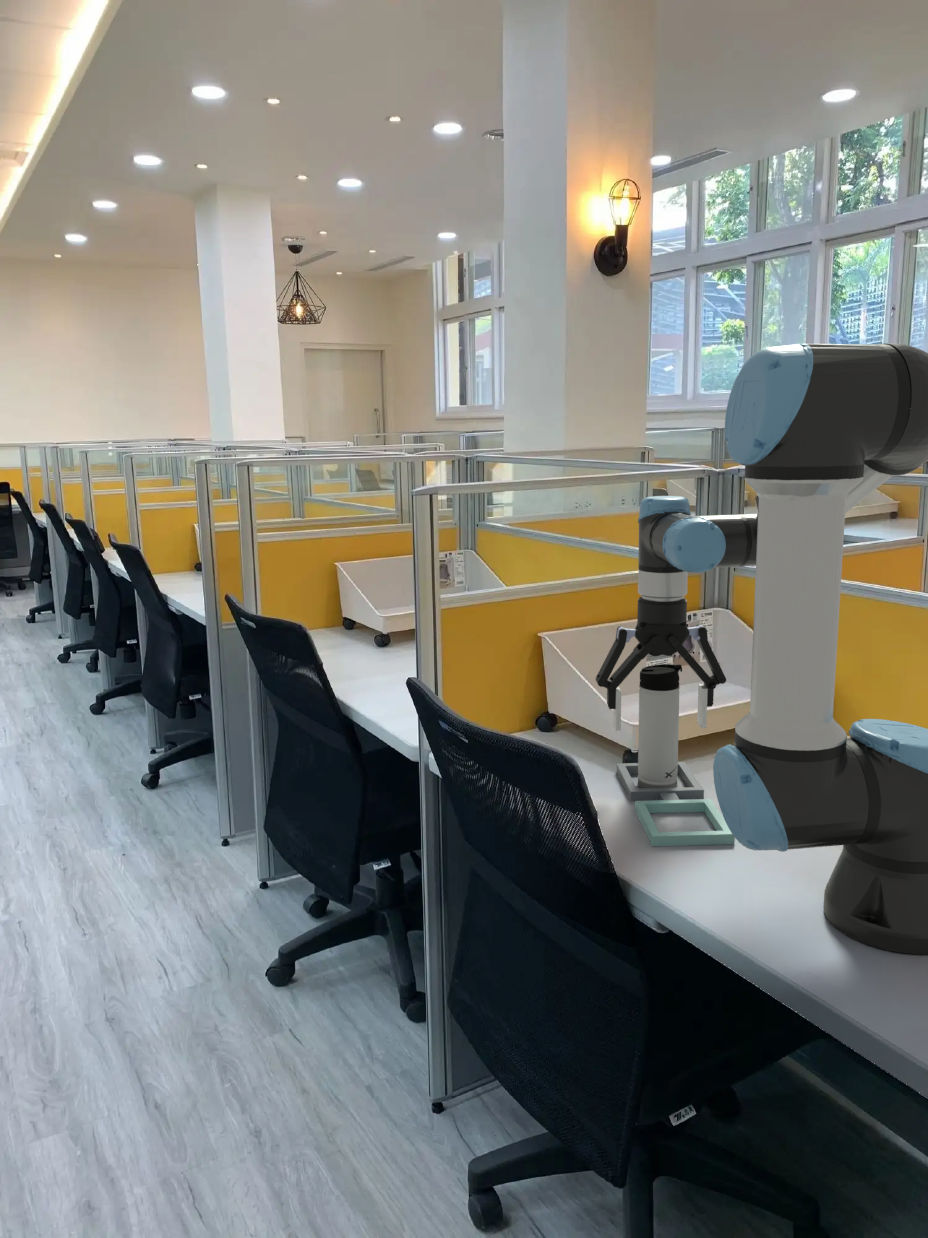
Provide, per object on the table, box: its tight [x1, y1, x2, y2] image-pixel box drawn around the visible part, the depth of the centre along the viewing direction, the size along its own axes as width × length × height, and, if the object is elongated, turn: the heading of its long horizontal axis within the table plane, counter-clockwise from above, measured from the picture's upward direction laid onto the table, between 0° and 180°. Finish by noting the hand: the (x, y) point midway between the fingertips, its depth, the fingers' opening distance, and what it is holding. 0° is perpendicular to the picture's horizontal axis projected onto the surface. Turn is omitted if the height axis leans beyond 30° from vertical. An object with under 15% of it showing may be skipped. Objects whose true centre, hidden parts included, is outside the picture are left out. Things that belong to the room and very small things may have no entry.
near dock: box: [634, 798, 736, 847], centre depth 134 cm, size 12×11×2 cm
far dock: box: [616, 761, 705, 802], centre depth 148 cm, size 16×11×2 cm
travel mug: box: [637, 663, 683, 789], centre depth 148 cm, size 6×7×20 cm
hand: (659, 727), depth 148 cm, fingers open, 13 cm apart
